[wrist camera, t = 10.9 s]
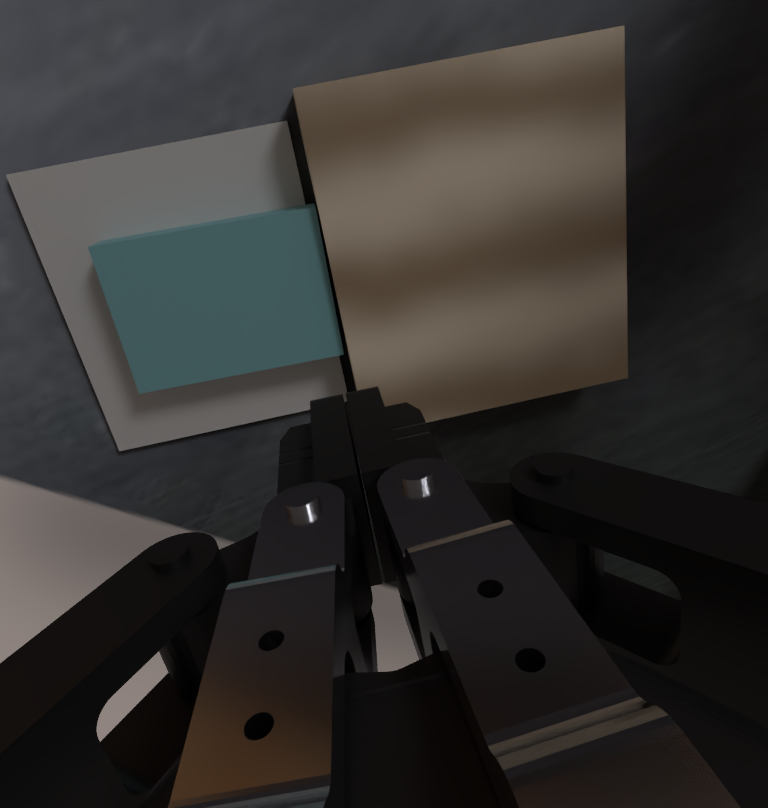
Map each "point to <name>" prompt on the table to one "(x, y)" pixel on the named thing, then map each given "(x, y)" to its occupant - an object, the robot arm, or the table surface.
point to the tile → (220, 297)
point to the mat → (152, 211)
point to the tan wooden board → (477, 221)
